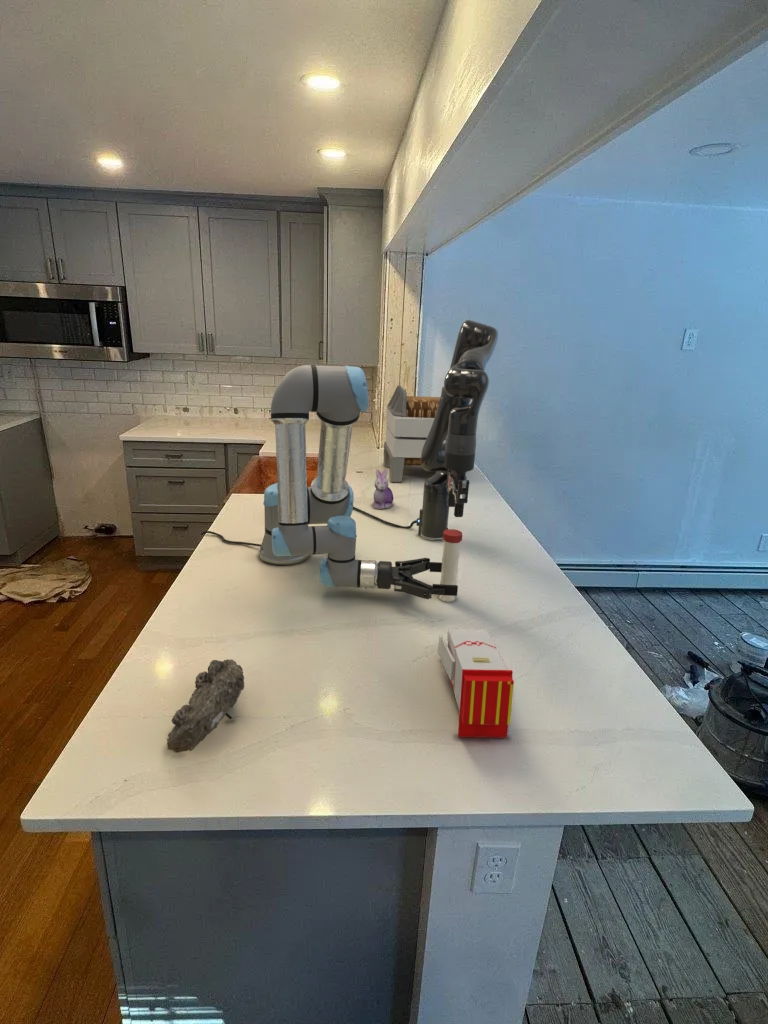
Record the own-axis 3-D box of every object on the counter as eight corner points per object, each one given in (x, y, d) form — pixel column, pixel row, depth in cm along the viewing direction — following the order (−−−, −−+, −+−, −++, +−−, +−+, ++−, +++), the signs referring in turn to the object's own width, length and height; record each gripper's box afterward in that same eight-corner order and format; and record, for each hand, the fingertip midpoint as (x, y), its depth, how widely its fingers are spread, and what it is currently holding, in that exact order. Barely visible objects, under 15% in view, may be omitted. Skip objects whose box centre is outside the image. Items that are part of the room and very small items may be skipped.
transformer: (382, 463, 289) (386, 382, 275) (445, 464, 293) (451, 384, 279) (390, 482, 257) (394, 392, 243) (460, 483, 261) (468, 394, 247)
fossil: (192, 660, 117) (244, 628, 112) (224, 691, 120) (276, 661, 115) (142, 746, 98) (202, 712, 93) (182, 779, 101) (242, 748, 96)
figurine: (377, 511, 221) (379, 474, 216) (366, 503, 229) (367, 467, 224) (399, 508, 225) (401, 471, 220) (387, 500, 233) (388, 465, 228)
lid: (440, 540, 150) (440, 533, 149) (446, 534, 154) (446, 527, 153) (458, 544, 148) (459, 537, 147) (464, 537, 152) (464, 531, 152)
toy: (488, 613, 130) (523, 677, 101) (484, 667, 133) (517, 744, 104) (435, 612, 130) (455, 676, 101) (432, 666, 133) (451, 743, 103)
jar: (436, 599, 156) (442, 535, 149) (441, 592, 160) (447, 529, 153) (452, 603, 154) (458, 538, 148) (457, 596, 158) (463, 532, 152)
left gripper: (378, 567, 167) (450, 571, 167) (374, 609, 144) (457, 614, 143) (379, 544, 165) (452, 547, 164) (375, 583, 141) (460, 587, 141)
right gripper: (482, 457, 136) (475, 521, 142) (468, 443, 150) (462, 502, 155) (451, 457, 136) (446, 521, 141) (440, 443, 149) (435, 502, 155)
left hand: (455, 578), depth 154 cm, fingers open, 13 cm apart
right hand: (454, 511), depth 148 cm, fingers open, 7 cm apart
